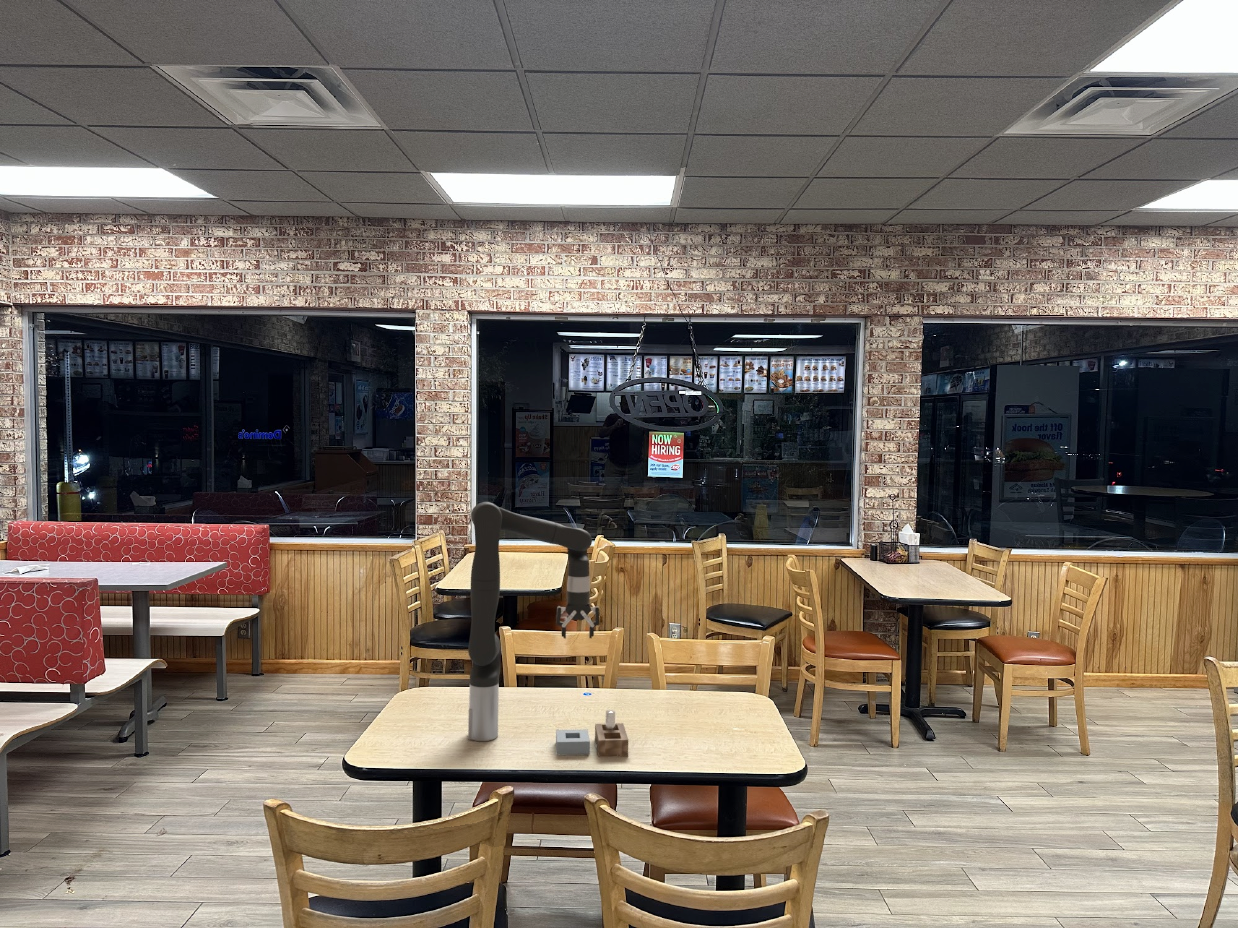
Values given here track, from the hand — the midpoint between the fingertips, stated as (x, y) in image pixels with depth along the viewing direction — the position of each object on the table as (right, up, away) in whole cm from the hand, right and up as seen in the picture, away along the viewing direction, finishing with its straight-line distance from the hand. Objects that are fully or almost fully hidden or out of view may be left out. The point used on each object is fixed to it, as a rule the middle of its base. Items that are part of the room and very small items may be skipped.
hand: (577, 637), depth 259 cm
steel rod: (+11, -31, -11) cm, 34 cm away
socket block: (-1, -31, -16) cm, 35 cm away
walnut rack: (+11, -31, -15) cm, 36 cm away
